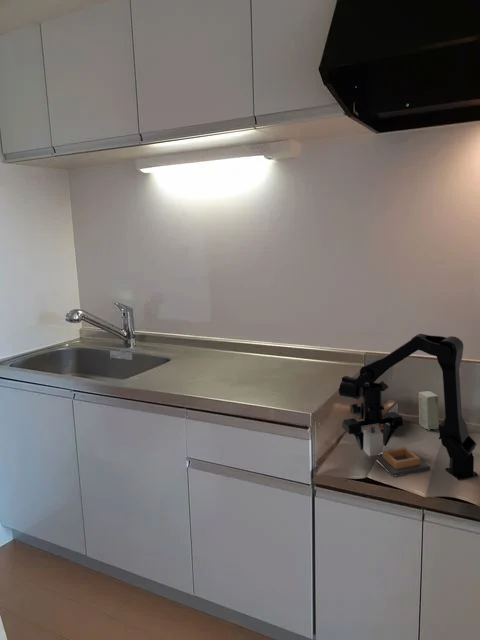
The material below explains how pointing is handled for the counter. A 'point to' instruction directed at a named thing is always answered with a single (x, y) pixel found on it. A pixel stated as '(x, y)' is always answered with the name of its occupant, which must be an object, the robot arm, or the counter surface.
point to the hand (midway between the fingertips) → (373, 447)
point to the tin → (389, 409)
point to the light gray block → (373, 441)
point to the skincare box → (428, 410)
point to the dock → (401, 461)
